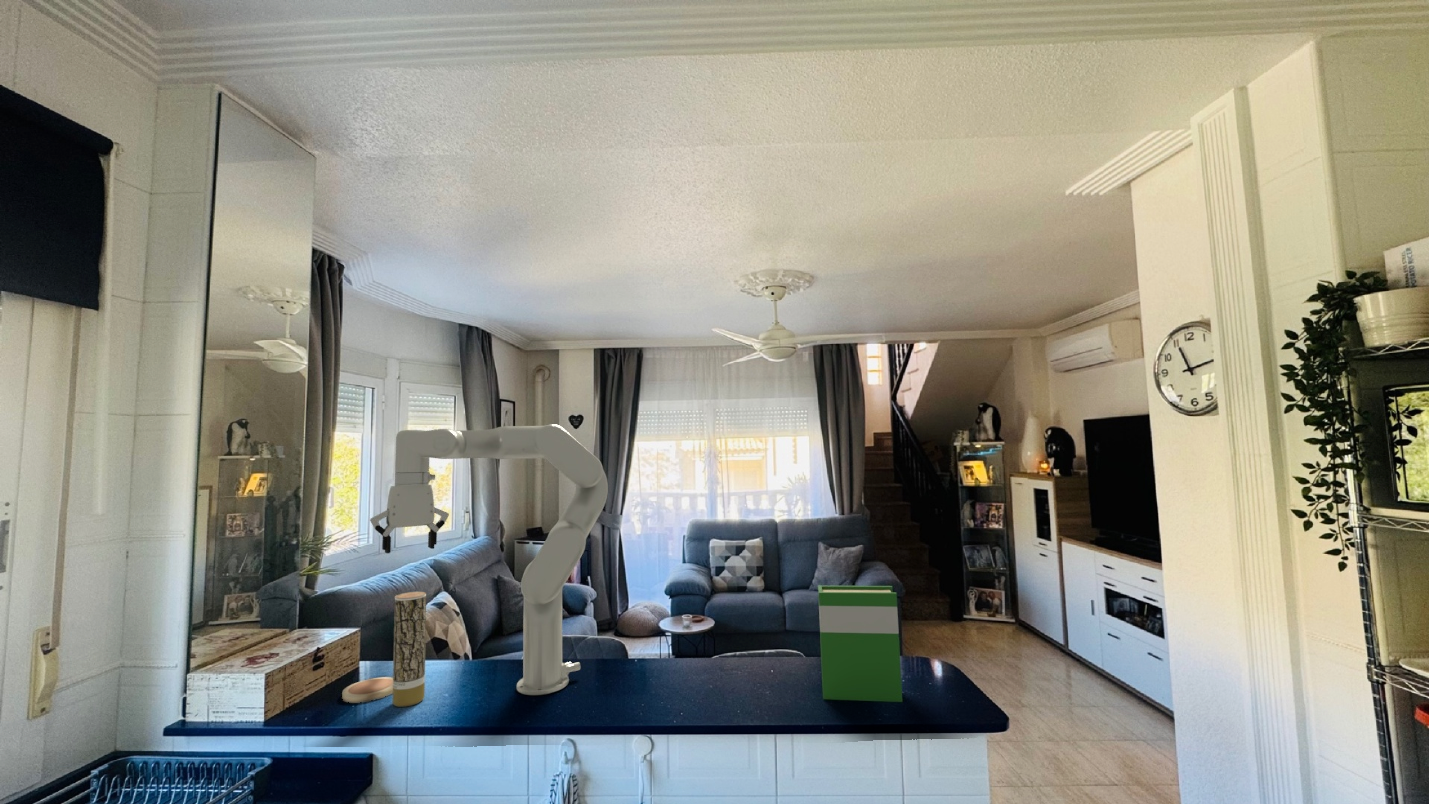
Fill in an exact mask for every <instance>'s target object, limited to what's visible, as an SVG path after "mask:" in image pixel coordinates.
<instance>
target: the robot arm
mask: <svg viewBox="0 0 1429 804" xmlns="http://www.w3.org/2000/svg"><path fill="white" fill-rule="evenodd" d="M395 436H396V437H395V455H394V456H395V457H394V458H395V463H394V485H391V486H390V487H389V493H388V496H387V504H386V510H384V511H382V512H380V513H378V514H377V515H375V516H372V517H371V518H370V519H369V521H370V523H371V526H372V527H373V529H374V530H375V531H376V532H377V533H379V534H380V535H381V536H382V545H381V549H382V551H384V552H385V554H390V553H391V549H392V547H391V546H392V536H390V535H391V533H392V532H393V531H394V530H395V528H409V527H421V526H426V527H427V528H429V532H428V535H427V537H428V540H427V541H428V543H427V547H428V548H429V549H432V550H434V549H435V546H436V545H437V542H438V538H437V537H438V532H439V530H441V528H443V526H444V525H445V523H446V522H447V520H448V517H449V516H450V515H449V514H450V513H449V512H446V511H445V510H442V509H439V508H437V507H435V502H434V501H435V500H434V492H433V486H432V484H430V482H431V481H435V480H436V474H432V473H430V458H431V459H441V460H447V459H448V460H454V459H455V460H456V459H457V460H459V459H497V460H520V459H521V460H522V459H545V460H547V461H548V463H550V464H551V465H552V466H553V467H554V468H555V469H556V470H558V471H559V472H560V473H562V474H563V476H565V477H566V478H567V479H568V480H569V481H570V482H572V484H574V485H575V491H574V494H573V496H572V498H571V499H570V501H569V502H568V505H567V506H566V508H565V510H564V511H563V513H562V514H561V516H560V518H559V519H558V520H557V522H556V523H555V525H554V526H553V527H552V528H551V529H550V531H549V532H548V534H547V537H546V539H545V541H544V542H543V544H542V545H541V547H540V549H539V550H538V552H537V553H536V555H535V557H534V559H533V560H532V561H531V562H529V564H528V565H527V566H526V568H525V569H524V572H523V575H522V576H521V577H522V578H521V581H520V590H521V593H522V596H523V611H522V612H523V615H522V616H523V618H522V619H523V620H522V621H523V622H522V623H523V624H522V625H523V627H522V629H523V630H522V631H523V632H522V635H523V636H522V637H523V641H522V642H523V643H522V645H523V646H522V648H523V649H522V650H523V651H522V652H523V654H522V656H523V658H522V659H523V660H522V663H523V665H522V667H523V668H522V671H523V673H522V675H523V677H522V678H520V679H519V680H518V682H517V683H516V691H517V692H518V693H520V694H522V695H527V696H543V695H548V694H552V693H555V692H558V691H560V690H562V689H564V688H565V687H566V686H568V684H569V681H570V679H569V674H570V673H571V672H576V671H580V670H581V663H580V662H579V661H578V662H574V663H572V662H571V661H569V662H568V661H567V662H563V588H564V586H565V584H566V583H567V581H568V579H569V578H570V576H571V574H572V572H573V571H574V570H575V568H576V566H577V565H578V563H579V561H580V559H581V557H582V555H583V554H584V553H585V549H586V543H587V541H586V540H587V538H588V536H589V535H590V532H591V530H592V529H593V527H594V525H595V524H596V522H597V520H598V518H599V517H600V516H601V513H602V511H603V509H604V507H605V505H606V502H607V498H608V493H609V492H608V491H609V485H608V478H607V474H606V473H605V470H604V467H603V464H602V461H600V459H599V458H598V457H597V456H596V455H594V454H593V453H592V452H591V451H590V450H588V449H587V448H586V447H585V446H584V445H583V444H582V443H580V442H579V441H578V440H577V439H576V438H575V437H574V436H572V435H571V434H570V433H569V432H568V431H567V430H566V429H565V428H564V427H563V426H561V425H558V424H552V423H551V424H547V425H516V426H515V425H510V426H509V425H506V426H505V425H504V426H498V427H495V428H491V429H476V430H474V429H473V430H471V429H470V430H466V429H465V430H455V429H449V428H438V429H429V430H422V429H404V430H403V429H402V430H400V431H398V432H397V433H396V435H395ZM435 514H436V515H438V516H440V518H439V520H438V521H437V522H436V523H434V522H435ZM382 519H385V523H386V526H385V527H384V528H383V527H382V526H381V525H380V521H381V520H382Z"/></svg>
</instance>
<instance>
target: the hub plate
mask: <svg viewBox="0 0 1429 804" xmlns="http://www.w3.org/2000/svg"><path fill="white" fill-rule="evenodd" d="M341 694H342V697H341V699H343V700H342V701H343V702H345V703H348V702H349V703H350V704H360V702H362V703H367V702H368V703H369V702H372V701H371V700H373V701H375V700H374V699H377V700H380V699H383V698H386V697H388V696H391V695H393V676H392V677H390V676H383V677H373V678H368V679H363V680H361V681H358V682H355V683H351V684H350V685H348V686H346V687H344V689H343V690H342V693H341ZM385 696H386V697H385Z"/></svg>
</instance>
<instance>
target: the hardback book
mask: <svg viewBox="0 0 1429 804" xmlns="http://www.w3.org/2000/svg"><path fill="white" fill-rule="evenodd" d="M817 590H818V613H819V615H818V616H819V617H818V618H819V634H820V640H819V641H820V661H821V663H820V664H821V681H822V684H821V685H822V700H833V701H834V700H835V701H836V700H837V701H860V702H861V701H865V702H866V701H869V702H891V703H893V702H894V703H895V702H896V703H903V688H902V687H903V685H902V669H901V668H902V667H901V652H900V651H901V649H900V635H899V633H900V632H899V631H900V630H899V629H900V628H899V617H898V613H899V612H898V596H897V592H893V585H817Z"/></svg>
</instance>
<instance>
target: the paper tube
mask: <svg viewBox="0 0 1429 804" xmlns="http://www.w3.org/2000/svg"><path fill="white" fill-rule="evenodd" d="M393 608H394V609H393V610H394V611H393V612H394V614H393V616H394V617H393V620H394V623H393V624H394V625H393V657H392V658H393V660H392V662H393V664H392V665H393V668H392V678H393V693H392V704H393V706H395V707H398V708H405V707H410V706H413V705H417V704H419V703H420V702H422V701H423V700H424V699H425V690H426V689H425V688H426V686H425V684H426V683H425V681H426V636H427V635H426V634H427V633H426V631H427V630H426V629H427V628H426V627H427V592H425V591H410V592H409V591H408V592H404V593H400V594H399V593H398V594H397V595H395V596H394V607H393Z"/></svg>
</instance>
